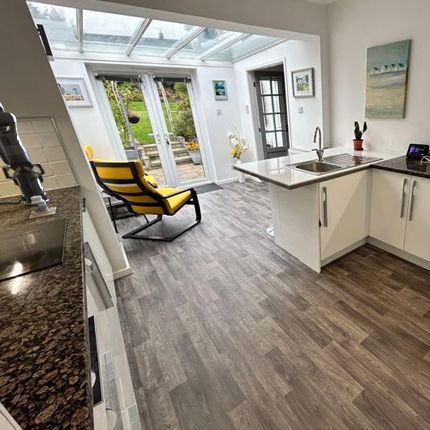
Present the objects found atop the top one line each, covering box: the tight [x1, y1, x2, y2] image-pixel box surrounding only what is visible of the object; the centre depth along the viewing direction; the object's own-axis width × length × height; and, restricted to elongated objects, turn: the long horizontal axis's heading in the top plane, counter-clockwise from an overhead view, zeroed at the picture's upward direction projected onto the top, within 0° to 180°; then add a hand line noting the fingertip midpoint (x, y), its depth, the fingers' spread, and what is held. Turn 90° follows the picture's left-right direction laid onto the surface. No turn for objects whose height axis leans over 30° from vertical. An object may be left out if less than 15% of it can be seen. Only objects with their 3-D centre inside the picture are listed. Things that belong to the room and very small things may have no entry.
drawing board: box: [28, 206, 57, 221], centre depth 146 cm, size 16×10×1 cm, turn 42°
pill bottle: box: [31, 196, 49, 214], centre depth 144 cm, size 5×5×9 cm
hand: (30, 184), depth 140 cm, fingers open, 8 cm apart
